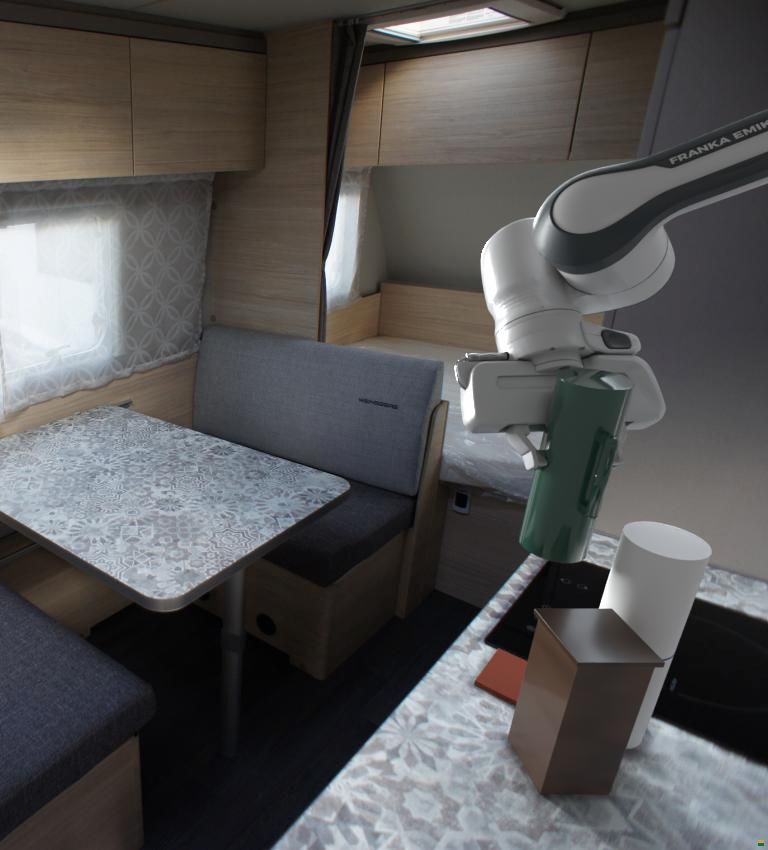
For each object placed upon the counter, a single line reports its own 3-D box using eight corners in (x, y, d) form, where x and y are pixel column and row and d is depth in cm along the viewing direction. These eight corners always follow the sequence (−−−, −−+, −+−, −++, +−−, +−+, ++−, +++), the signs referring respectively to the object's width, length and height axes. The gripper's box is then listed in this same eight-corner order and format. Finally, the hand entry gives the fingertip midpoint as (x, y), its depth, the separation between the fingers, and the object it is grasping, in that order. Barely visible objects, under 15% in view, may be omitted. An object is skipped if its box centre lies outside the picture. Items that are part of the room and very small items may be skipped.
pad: (497, 652, 88) (498, 648, 88) (558, 681, 83) (560, 676, 83) (473, 685, 83) (474, 680, 83) (537, 717, 78) (539, 712, 78)
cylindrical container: (644, 760, 73) (717, 568, 63) (567, 733, 76) (625, 547, 66) (639, 715, 78) (705, 532, 68) (568, 692, 82) (621, 514, 72)
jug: (507, 530, 78) (544, 368, 71) (565, 530, 78) (608, 367, 70) (547, 574, 71) (592, 397, 63) (611, 573, 70) (665, 396, 63)
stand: (571, 737, 76) (611, 608, 69) (615, 799, 69) (665, 662, 61) (501, 736, 76) (534, 608, 69) (537, 799, 69) (578, 662, 62)
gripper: (463, 340, 73) (490, 460, 68) (653, 335, 73) (695, 455, 68) (440, 366, 79) (463, 478, 74) (616, 362, 79) (652, 474, 74)
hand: (576, 467), depth 71 cm, fingers closed on jug, 6 cm apart
